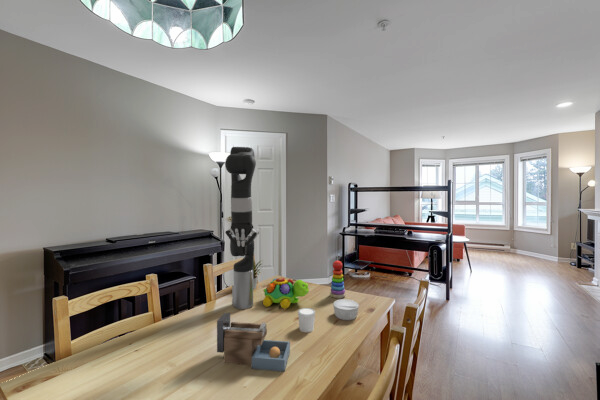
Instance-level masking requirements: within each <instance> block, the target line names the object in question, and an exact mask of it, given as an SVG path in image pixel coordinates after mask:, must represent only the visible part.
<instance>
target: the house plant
mask: <svg viewBox="0 0 600 400" xmlns="http://www.w3.org/2000/svg"><path fill="white" fill-rule="evenodd" d="M263 261H264V260H260V261H258V262H257V263H256V262H255V260H254V264H253V290H255V289H256V288H257V284H258V277H259V275H260V274H261V271H260V270H261V269H262V267H261V268H260V266H261V265H262V263H261V262H263ZM257 275H258V276H257Z"/></svg>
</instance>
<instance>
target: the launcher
mask: <svg viewBox="0 0 600 400" xmlns="http://www.w3.org/2000/svg"><path fill="white" fill-rule="evenodd" d="M261 324H262V323H253V322H251V323H250V322H235V321H230V327H238V328H254V329H260V326H261ZM267 333H268V329H267V323H265V333H264V335H263V337H262V332H256V331H240V330H225V337H224V352H223V364H231V365H242V366H243V365H245V366H252V356H253V354H254V352H255V350H256V348H257V346H258V345H262V343H263V341H264V340H266V339H265V338H266V337H267Z"/></svg>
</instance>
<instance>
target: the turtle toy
mask: <svg viewBox="0 0 600 400" xmlns="http://www.w3.org/2000/svg"><path fill="white" fill-rule="evenodd" d="M309 291H310V289H309V284H308V283H307V282H305V281H303V280H302V279H298V280H295V282H294V281H293V280H292V279H291V278H289V279H285V278H284V277H278V278H277V277H276V278H273V279H272V281H270V282H269V283H268V284H267V285H266V287H265V288H263V293H264V298H263V300H262V304H263V306H264V307H265V308H267V307H271V306H272V305H273V304H280V307H281V308H282V309H283V310H285V309H288V308H289V307H290V305H291V304H297V303H299V302H300V300H299V298H300V297H304V296H306V295H308V294H309Z"/></svg>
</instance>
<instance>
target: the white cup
mask: <svg viewBox="0 0 600 400" xmlns="http://www.w3.org/2000/svg"><path fill="white" fill-rule="evenodd" d="M315 314H316V310H315V309H313V308H310V307H303V308H299V309H298V310H297V315H298V318H297V319H298V329H299V330H300V332H302V333H311V332H313V331H314V328H315V327H314V326H315V318H316V315H315Z"/></svg>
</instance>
